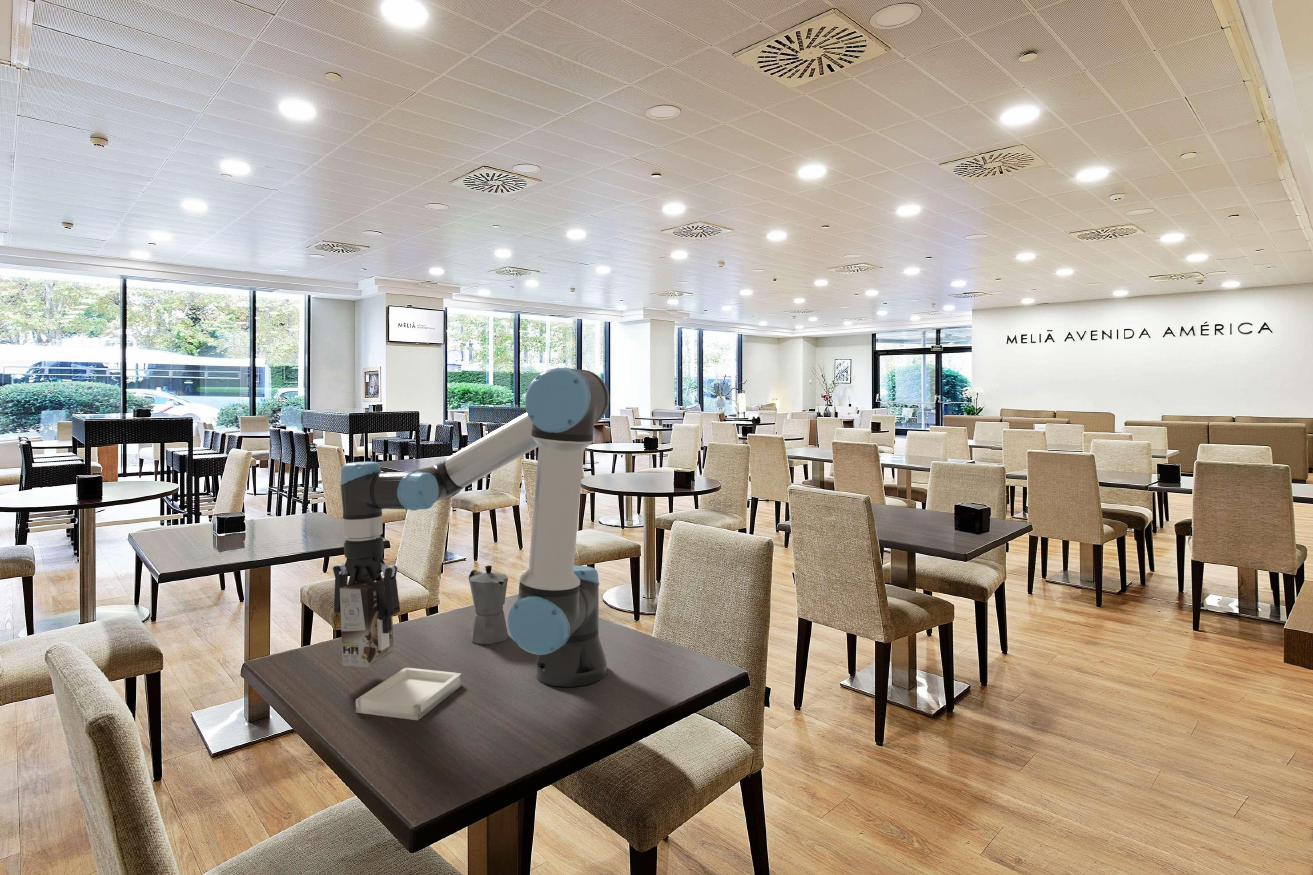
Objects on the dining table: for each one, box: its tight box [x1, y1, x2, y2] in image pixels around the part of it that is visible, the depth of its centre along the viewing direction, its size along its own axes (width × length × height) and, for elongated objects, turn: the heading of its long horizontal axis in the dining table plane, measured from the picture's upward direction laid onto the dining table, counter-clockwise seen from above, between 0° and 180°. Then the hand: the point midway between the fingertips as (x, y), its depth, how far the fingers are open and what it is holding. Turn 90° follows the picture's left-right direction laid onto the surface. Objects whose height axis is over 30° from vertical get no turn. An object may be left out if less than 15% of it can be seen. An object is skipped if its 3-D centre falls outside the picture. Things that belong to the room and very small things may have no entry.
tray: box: [355, 666, 463, 721], centre depth 138 cm, size 13×16×2 cm
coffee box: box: [340, 577, 395, 668], centre depth 146 cm, size 9×6×16 cm
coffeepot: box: [468, 565, 509, 645], centre depth 173 cm, size 15×9×18 cm, turn 44°
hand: (368, 646), depth 146 cm, fingers closed on coffee box, 6 cm apart
